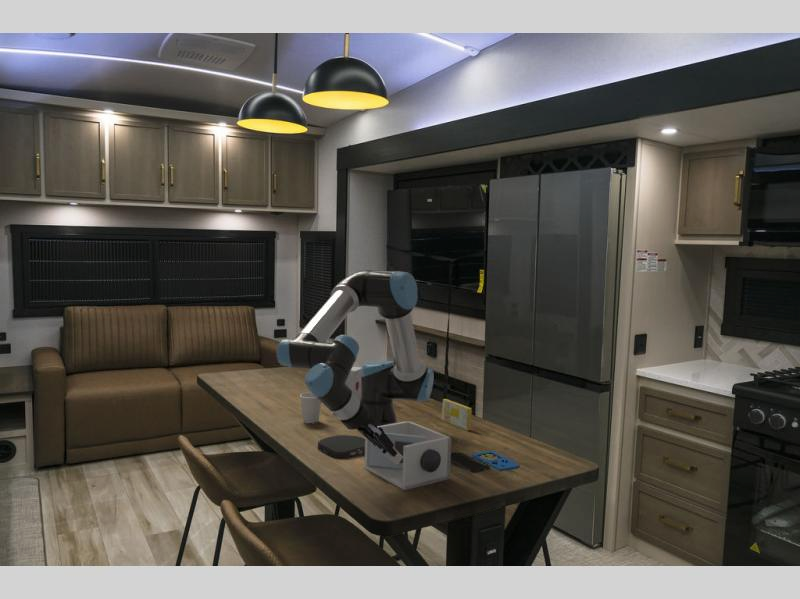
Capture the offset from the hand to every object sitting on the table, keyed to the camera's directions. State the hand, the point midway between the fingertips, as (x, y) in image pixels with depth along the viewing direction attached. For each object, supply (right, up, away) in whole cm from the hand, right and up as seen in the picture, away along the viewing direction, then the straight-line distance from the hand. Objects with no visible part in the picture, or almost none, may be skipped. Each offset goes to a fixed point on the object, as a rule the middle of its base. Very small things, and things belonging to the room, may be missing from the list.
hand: (398, 460), depth 178 cm
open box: (+2, -5, +5) cm, 7 cm away
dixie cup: (-33, 0, +56) cm, 64 cm away
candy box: (+21, -1, +56) cm, 60 cm away
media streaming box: (-18, -3, +25) cm, 31 cm away
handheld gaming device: (+30, -5, +18) cm, 35 cm away
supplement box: (-21, +2, +83) cm, 85 cm away
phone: (+20, -5, +15) cm, 26 cm away
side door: (-1, -4, +5) cm, 6 cm away
